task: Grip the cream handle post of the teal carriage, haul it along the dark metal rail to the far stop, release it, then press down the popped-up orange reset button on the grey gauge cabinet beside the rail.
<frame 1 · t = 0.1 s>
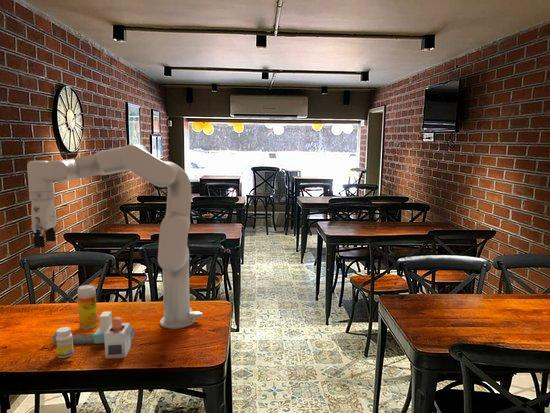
hand: (45, 244, 154), 31 cm above the table, fingers open, 9 cm apart
rail: (94, 341, 148), on the table
carriage: (106, 326, 147), point 5 cm above the table, slide at 0.0 cm
supplement bottle: (65, 355, 138), on the table
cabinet: (118, 352, 140), on the table
reset button: (117, 324, 138), point 9 cm above the table, slide at 0.0 cm
beer can: (88, 326, 160), on the table
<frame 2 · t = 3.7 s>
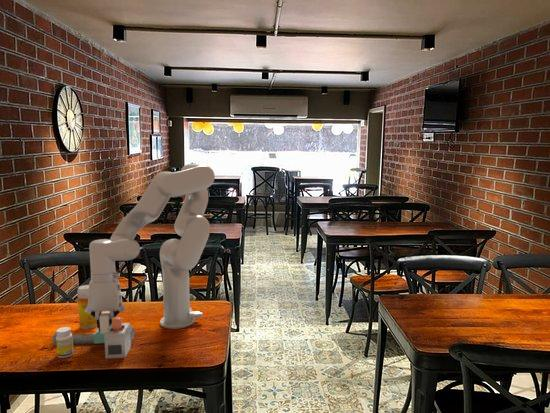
hand: (106, 328, 147), 4 cm above the table, fingers closed on carriage, 2 cm apart
carriage: (106, 326, 147), point 5 cm above the table, slide at 0.0 cm, touching gripper
everything else where it was.
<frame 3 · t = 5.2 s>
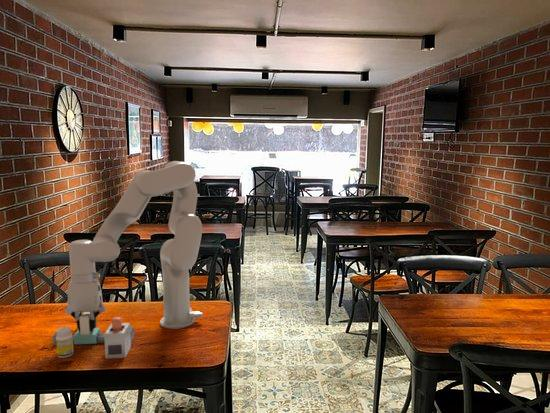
hand: (86, 329, 147), 4 cm above the table, fingers closed on carriage, 2 cm apart
carriage: (86, 327, 147), point 5 cm above the table, slide at 6.4 cm, touching gripper
everything else where it was.
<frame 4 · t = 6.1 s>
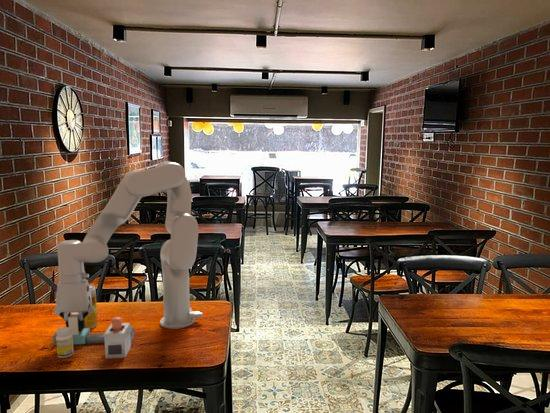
hand: (75, 330, 146), 4 cm above the table, fingers closed on carriage, 2 cm apart
carriage: (75, 328, 146), point 5 cm above the table, slide at 10.0 cm, touching gripper
everything else where it was.
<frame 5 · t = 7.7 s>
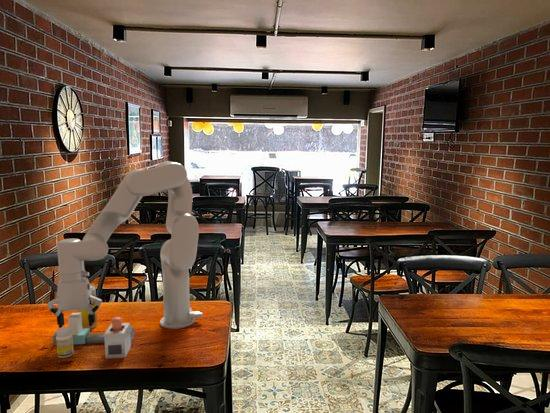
hand: (76, 325, 146), 6 cm above the table, fingers open, 9 cm apart
carriage: (75, 328, 146), point 5 cm above the table, slide at 10.0 cm
everything else where it was.
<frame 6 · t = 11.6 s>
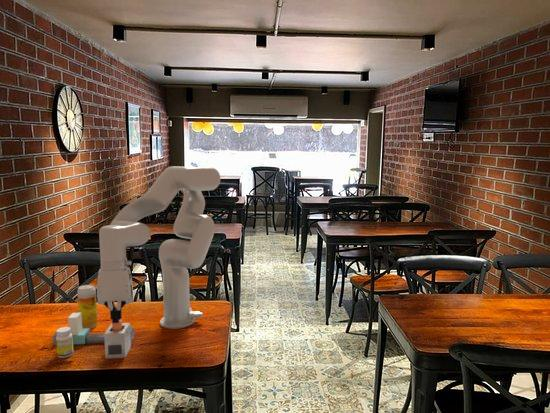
hand: (116, 321, 138), 11 cm above the table, fingers closed
reset button: (117, 326, 139), point 8 cm above the table, slide at 0.8 cm, touching gripper
everything else where it was.
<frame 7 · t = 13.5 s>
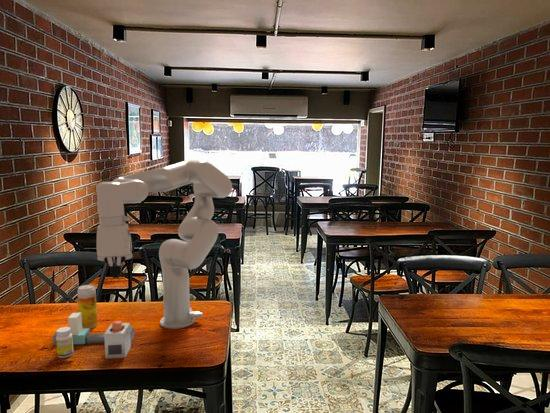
hand: (116, 276, 140), 24 cm above the table, fingers closed
reset button: (117, 328, 139), point 8 cm above the table, slide at 1.4 cm
everything else where it was.
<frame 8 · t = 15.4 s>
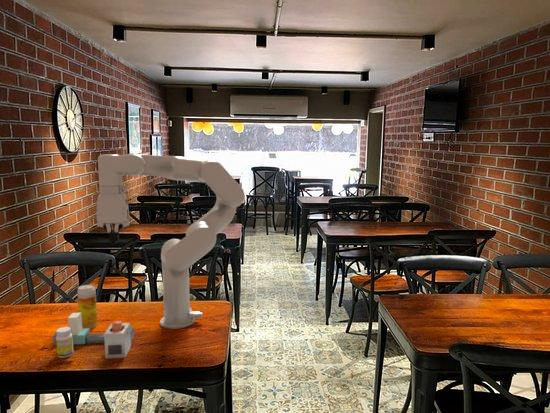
hand: (114, 242, 152), 32 cm above the table, fingers closed
nothing on the table moved.
at the end: carriage slide at 10.0 cm; reset button slide at 1.4 cm; the gripper is holding nothing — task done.
